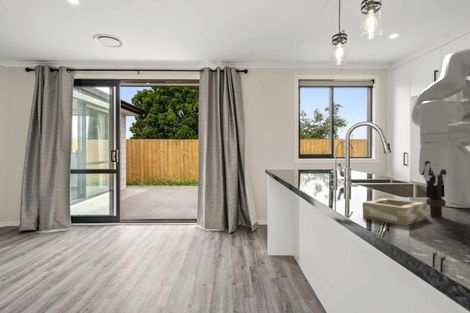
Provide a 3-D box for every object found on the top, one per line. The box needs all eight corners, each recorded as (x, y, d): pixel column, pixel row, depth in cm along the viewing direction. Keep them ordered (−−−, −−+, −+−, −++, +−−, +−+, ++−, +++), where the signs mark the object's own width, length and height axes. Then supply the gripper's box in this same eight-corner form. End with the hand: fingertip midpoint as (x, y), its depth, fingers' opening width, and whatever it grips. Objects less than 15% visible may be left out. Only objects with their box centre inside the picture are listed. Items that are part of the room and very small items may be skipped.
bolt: (450, 218, 87) (448, 169, 87) (431, 218, 88) (430, 170, 88) (440, 214, 93) (439, 168, 93) (423, 214, 94) (422, 169, 94)
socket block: (384, 212, 99) (384, 197, 99) (426, 218, 88) (426, 202, 88) (363, 218, 92) (362, 202, 91) (405, 225, 81) (405, 208, 81)
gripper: (432, 140, 98) (433, 193, 98) (408, 140, 89) (410, 199, 89) (458, 139, 92) (460, 195, 92) (436, 139, 83) (438, 202, 83)
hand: (435, 196), depth 90 cm, fingers closed on bolt, 3 cm apart
